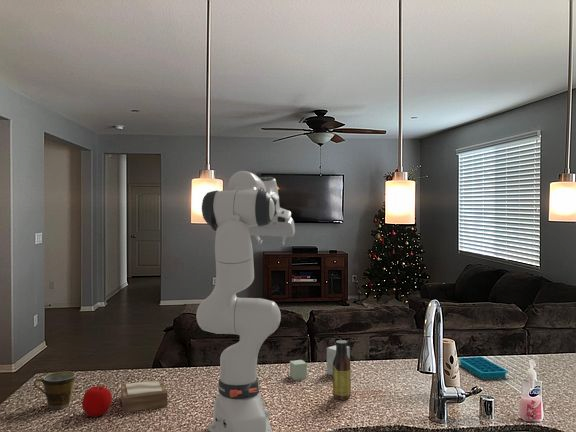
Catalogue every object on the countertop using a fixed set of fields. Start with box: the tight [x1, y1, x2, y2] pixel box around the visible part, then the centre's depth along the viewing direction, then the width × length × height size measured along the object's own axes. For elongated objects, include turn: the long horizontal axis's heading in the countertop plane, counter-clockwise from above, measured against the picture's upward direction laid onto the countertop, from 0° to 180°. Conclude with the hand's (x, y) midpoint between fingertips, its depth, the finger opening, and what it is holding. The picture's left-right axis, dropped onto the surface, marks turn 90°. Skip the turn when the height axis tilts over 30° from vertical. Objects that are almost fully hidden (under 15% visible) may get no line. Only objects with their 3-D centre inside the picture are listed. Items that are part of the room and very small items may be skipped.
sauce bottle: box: [332, 339, 352, 401], centre depth 177 cm, size 7×6×20 cm
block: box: [289, 359, 308, 381], centre depth 198 cm, size 5×5×6 cm
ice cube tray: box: [458, 356, 509, 380], centre depth 207 cm, size 12×20×3 cm, turn 10°
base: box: [120, 378, 168, 413], centre depth 173 cm, size 14×14×5 cm
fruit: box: [81, 382, 113, 418], centre depth 163 cm, size 9×9×10 cm
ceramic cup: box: [33, 370, 77, 410], centre depth 169 cm, size 13×10×10 cm
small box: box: [326, 344, 351, 376], centre depth 204 cm, size 8×6×10 cm
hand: (271, 244), depth 209 cm, fingers open, 8 cm apart
